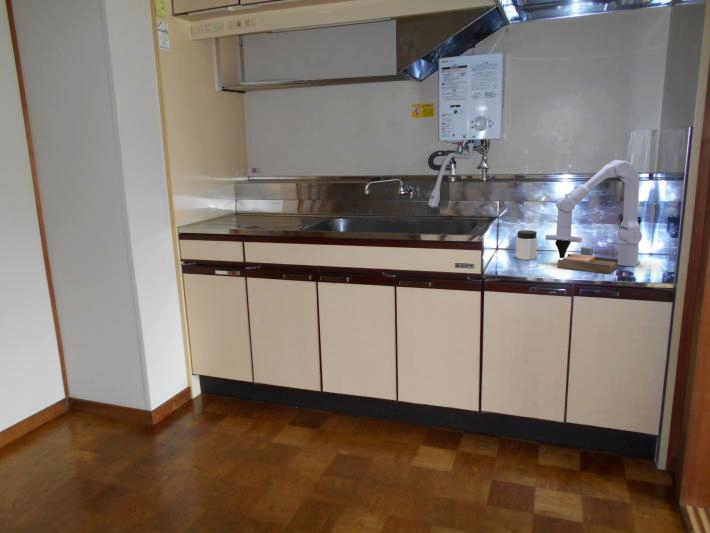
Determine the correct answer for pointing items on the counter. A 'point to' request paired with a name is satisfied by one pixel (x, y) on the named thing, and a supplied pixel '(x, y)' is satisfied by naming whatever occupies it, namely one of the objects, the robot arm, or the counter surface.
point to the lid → (580, 258)
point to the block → (587, 250)
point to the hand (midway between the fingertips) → (562, 257)
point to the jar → (526, 245)
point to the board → (590, 265)
